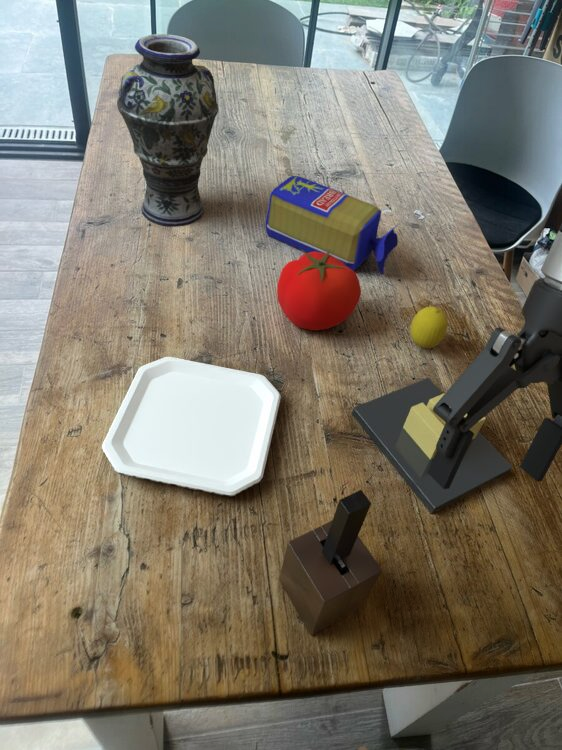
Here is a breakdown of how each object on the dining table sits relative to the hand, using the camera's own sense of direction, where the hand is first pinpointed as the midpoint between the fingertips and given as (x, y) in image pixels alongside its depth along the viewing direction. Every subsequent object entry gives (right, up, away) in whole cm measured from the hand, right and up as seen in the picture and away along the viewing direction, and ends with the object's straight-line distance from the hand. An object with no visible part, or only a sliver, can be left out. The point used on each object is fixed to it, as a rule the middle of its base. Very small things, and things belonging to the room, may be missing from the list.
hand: (486, 477), depth 62 cm
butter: (+2, +3, +20) cm, 20 cm away
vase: (-43, +44, +54) cm, 82 cm away
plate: (-33, +3, +17) cm, 38 cm away
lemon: (+1, +15, +34) cm, 37 cm away
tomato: (-16, +20, +36) cm, 44 cm away
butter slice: (-2, +2, +18) cm, 18 cm away
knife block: (-17, -14, +3) cm, 22 cm away
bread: (-13, +35, +50) cm, 62 cm away
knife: (-17, -14, +3) cm, 22 cm away
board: (-1, +1, +20) cm, 20 cm away
